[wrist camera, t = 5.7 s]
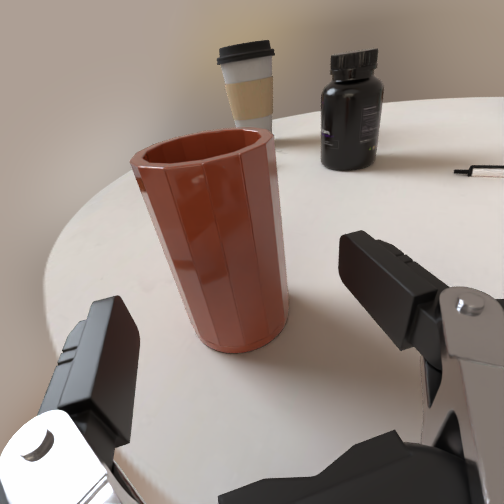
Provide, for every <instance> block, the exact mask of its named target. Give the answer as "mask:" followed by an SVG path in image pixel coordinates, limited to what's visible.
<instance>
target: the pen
mask: <svg viewBox="0 0 504 504" xmlns="http://www.w3.org/2000/svg"><path fill="white" fill-rule="evenodd" d="M454 173H457V174H468V176H478V177H504V166H492V165H472V166H470V168H469V170H454Z"/></svg>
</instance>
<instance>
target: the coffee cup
mask: <svg viewBox="0 0 504 504" xmlns="http://www.w3.org/2000/svg"><path fill="white" fill-rule="evenodd" d="M219 52H220V58H217V62H218V63H217V65H220V64H221V68H222V71H223V76H224V80H225V88H226V91H227V95H228V99H229V103H230V107H231V111H232V115H233V119H234V120H235V124H236V127H255V128H262V129H267V130H269V131H270V132H271V133H272V113H273V76H272V56H273V55H275V53H274V49H271V48H270V43H269V40H264V41H255V42H249V43H242V44H237V45H232V46H228V47H223V48H220V49H219Z"/></svg>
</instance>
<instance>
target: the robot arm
mask: <svg viewBox="0 0 504 504" xmlns="http://www.w3.org/2000/svg"><path fill="white" fill-rule="evenodd" d="M338 270H339V275H340V278H341V280H342V282H343V284H344V285H345V286H346V287H347V288H348V290H349V291H350V292H351V293H352V294H353V295H354V297H355V298H356V299H357V300H358V301H359V303H360V304H361V305H362V306H363V307H364V308H365V310H366V311H367V312H368V313H369V314H370V315H371V317H372V318H373V319H374V320H375V321H376V323H377V324H378V325H379V326H380V327H381V328H382V330H383V331H384V332H385V333H386V334H387V335H388V337H389V338H390V339H391V340H392V341H393V343H394V344H395V345H396V346H397V347H398V348H399V350H400V351H402V350H405V349H408V348H411V347H415V348H416V349H417V350H418V351H419V353H420V354H421V356H420V369H421V384H422V398H423V426H422V433H421V444H419V443H409V442H403V441H402V440H401V438H400V437H399V435H398V434H397V432H396V430H393V431H390V432H387V433H385V434H382V435H379V436H377V437H374V438H371V439H369V440H366V441H363V442H361V443H358V444H355V445H354V446H352V447H351V448H350V449H349V450H348V451H346V452H345V453H344V454H343V455H341V456H340V457H339V458H338V459H337V460H335V461H334V462H333V463H332V464H331V465H329V466H328V467H327V468H326V469H325V470H323V471H322V472H321V473H320V474H318V475H316V476H313V477H293V478H268V479H262V480H259V481H257V482H254V483H251V484H249V485H246V486H243V487H241V488H238V489H235V490H233V491H230V492H227V493H225V494H222V495H219V496H218V502H219V504H504V299H494V298H493V297H491V296H490V295H488V294H486V293H484V292H482V291H479V290H476V289H473V288H468V287H449V286H447V285H446V284H445V283H443V282H442V281H441V280H439V279H438V278H436V277H435V276H434V275H432V274H431V273H430V272H428V271H427V270H426V269H424V268H423V267H422V266H420V265H419V264H418V263H416V262H413V260H412V259H411V258H410V257H408V256H407V255H404V253H403V252H402V251H400V250H399V249H398V248H396V247H395V246H394V245H392V244H389V243H387V242H384V241H381V240H379V239H378V240H375V239H374V238H372V237H371V236H370V235H369V234H367V233H366V232H365V231H363V230H360V231H356V232H352V233H349V234H345V235H342V236H341V237H340V241H339V265H338ZM139 349H140V336H139V331H138V328H137V326H136V324H135V322H134V320H133V318H132V317H131V315H130V313H129V311H128V309H127V307H126V306H125V304H124V302H123V300H122V299H121V297H120V296H118V295H117V296H113V297H109V298H106V299H102V300H98V301H94V302H93V303H92V305H91V308H90V310H89V313H88V316H87V319H86V320H83V321H79V323H78V324H77V325H76V326H75V328H74V329H73V330H72V331H71V333H70V334H69V335H68V337H67V339H66V342H65V345H64V347H63V350H62V351H63V353H61V355H60V358H59V360H58V366H56V368H55V371H54V373H53V376H52V378H51V381H50V384H49V386H48V389H47V391H46V394H45V396H44V399H43V402H42V404H41V407H40V409H39V412H38V415H37V417H35V418H33V419H32V420H30V421H29V422H28V423H26V424H25V425H24V426H23V427H22V428H21V429H20V430H19V431H18V432H17V433H16V434H15V435H14V436H13V437H12V438H11V440H10V441H9V442H8V444H7V445H6V447H5V449H4V451H3V452H2V455H1V457H0V504H146V503H145V501H144V500H143V498H142V497H141V496H140V494H139V493H138V492H137V490H136V489H135V487H134V486H133V485H132V484H131V482H130V481H129V479H128V478H127V477H126V475H125V474H124V472H123V471H122V469H121V468H120V467H119V465H118V464H117V463H116V462H115V461H114V460H113V457H114V450H115V448H117V447H120V446H123V445H126V444H128V443H130V436H131V426H132V417H133V407H134V397H135V388H136V378H137V368H138V359H139Z"/></svg>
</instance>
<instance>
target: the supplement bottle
mask: <svg viewBox="0 0 504 504" xmlns="http://www.w3.org/2000/svg"><path fill="white" fill-rule="evenodd" d="M377 57H378V49H377V48H373V49H365V50H358V51H351V52H345V53H339V54H334V55H331V70H330V74H331V75H332V81H331V82H330V83H328V84H327V85H326V86H325V87H324V89H323V91H322V94H321V162H322V164H323V165H324V166H325V167H327V168H329V169H333V170H341V171H348V170H357V169H362V168H365V167H368V166H370V165H371V164H372V163H373V162H374V161H375V158H376V152H377V144H378V136H379V128H380V119H381V111H382V102H383V93H384V85H383V83H382V81H381V80H380V79H379V78H377V77H376V76H374V69H376V68H377V65H378V64H377Z"/></svg>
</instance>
